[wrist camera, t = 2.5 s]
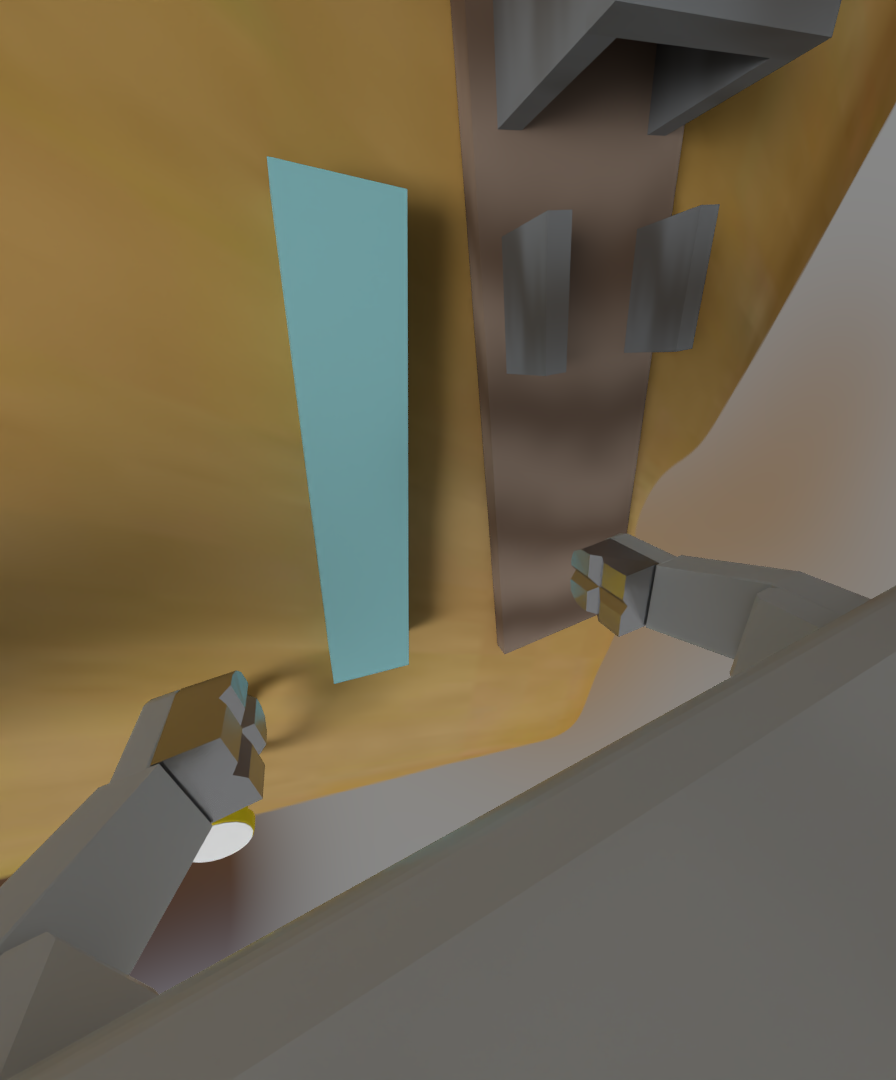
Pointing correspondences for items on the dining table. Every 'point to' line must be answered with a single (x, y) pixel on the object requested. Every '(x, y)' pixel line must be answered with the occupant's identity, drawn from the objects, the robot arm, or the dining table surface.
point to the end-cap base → (586, 250)
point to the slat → (351, 399)
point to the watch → (227, 836)
